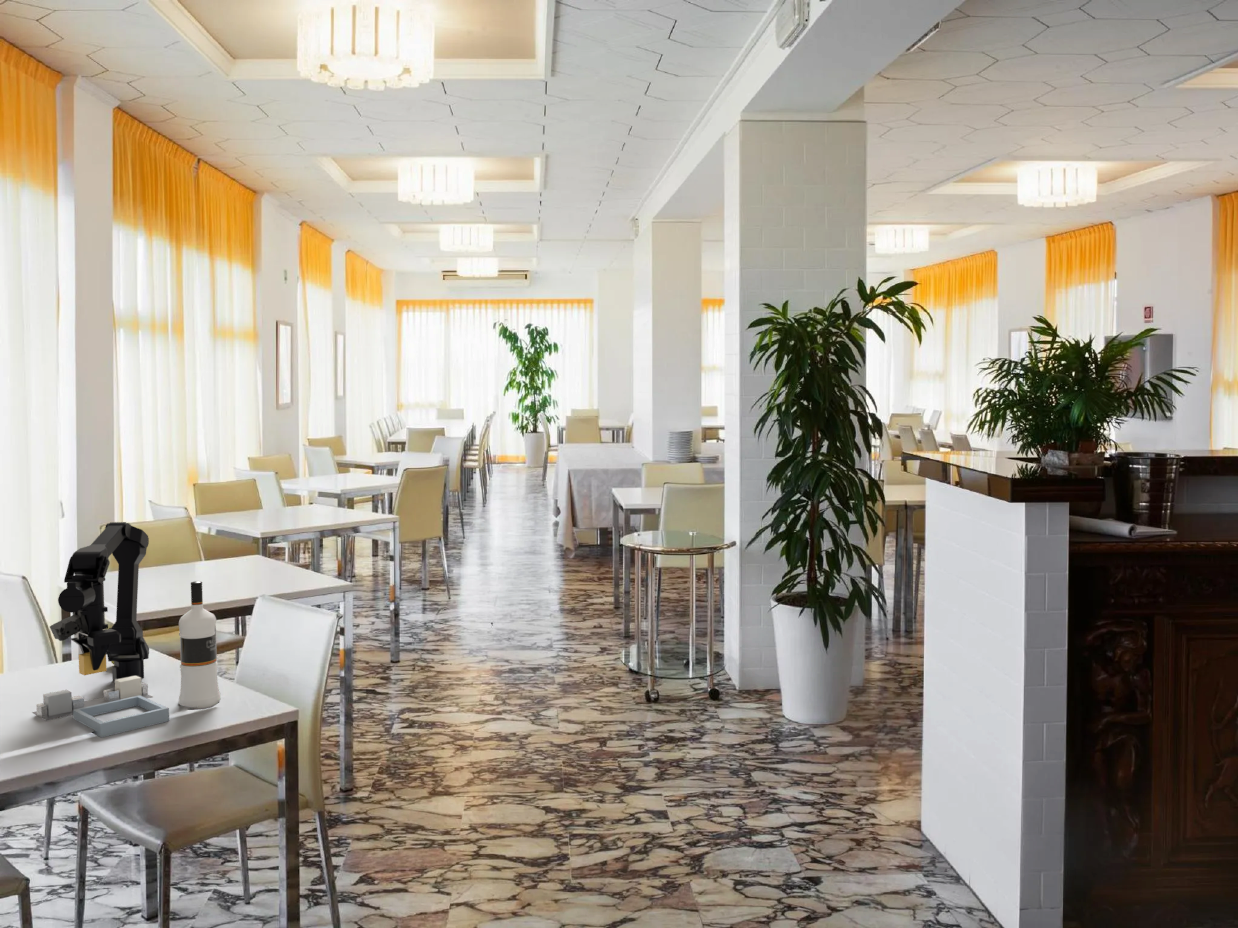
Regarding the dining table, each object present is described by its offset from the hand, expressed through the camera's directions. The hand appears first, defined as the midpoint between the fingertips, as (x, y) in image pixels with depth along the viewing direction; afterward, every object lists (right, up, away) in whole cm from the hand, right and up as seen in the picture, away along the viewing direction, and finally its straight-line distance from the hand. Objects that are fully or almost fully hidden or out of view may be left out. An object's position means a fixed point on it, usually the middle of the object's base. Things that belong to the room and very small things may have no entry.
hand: (92, 668), depth 240 cm
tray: (+11, -10, -9) cm, 18 cm away
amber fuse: (0, -1, 0) cm, 1 cm away
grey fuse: (-5, -9, -5) cm, 12 cm away
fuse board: (0, -10, +1) cm, 10 cm away
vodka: (+24, -10, +4) cm, 26 cm away
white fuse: (+5, -8, +7) cm, 12 cm away
